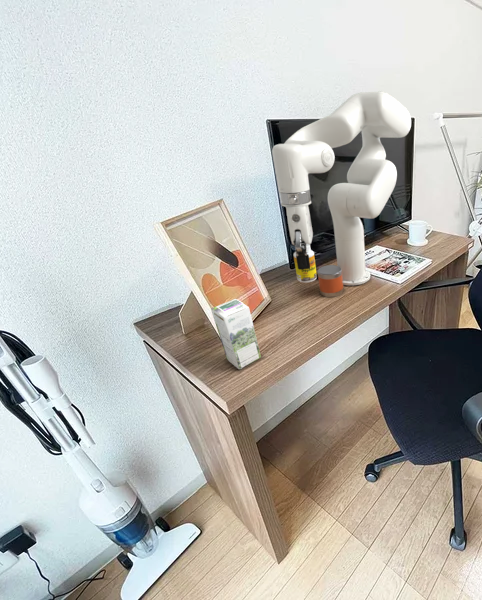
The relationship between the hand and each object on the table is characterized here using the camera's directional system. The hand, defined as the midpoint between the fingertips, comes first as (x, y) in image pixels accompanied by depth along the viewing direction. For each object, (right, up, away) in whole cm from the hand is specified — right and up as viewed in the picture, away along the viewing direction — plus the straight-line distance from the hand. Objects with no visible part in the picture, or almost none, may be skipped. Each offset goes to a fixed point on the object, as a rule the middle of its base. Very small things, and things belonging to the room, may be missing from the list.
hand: (305, 263), depth 91 cm
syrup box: (-11, -24, -14) cm, 30 cm away
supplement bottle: (0, -4, +2) cm, 5 cm away
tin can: (+5, -7, +14) cm, 17 cm away
